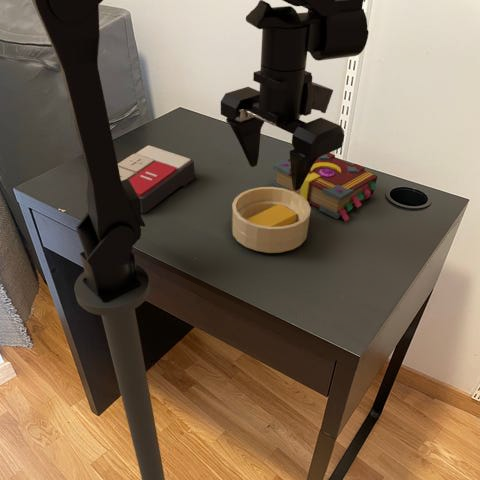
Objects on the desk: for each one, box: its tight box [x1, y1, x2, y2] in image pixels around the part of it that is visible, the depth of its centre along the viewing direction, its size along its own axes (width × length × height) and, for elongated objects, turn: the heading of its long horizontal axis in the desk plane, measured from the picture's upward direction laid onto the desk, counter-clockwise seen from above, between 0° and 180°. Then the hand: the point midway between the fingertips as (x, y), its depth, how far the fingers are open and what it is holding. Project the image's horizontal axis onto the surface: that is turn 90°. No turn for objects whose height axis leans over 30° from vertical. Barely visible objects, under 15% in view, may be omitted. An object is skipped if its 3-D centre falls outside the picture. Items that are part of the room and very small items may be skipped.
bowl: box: [231, 186, 312, 254], centre depth 77 cm, size 12×12×5 cm
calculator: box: [117, 144, 196, 214], centre depth 87 cm, size 11×4×15 cm
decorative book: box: [271, 152, 378, 222], centre depth 86 cm, size 11×16×5 cm
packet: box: [246, 204, 297, 227], centre depth 77 cm, size 8×4×2 cm, turn 131°
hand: (274, 177), depth 72 cm, fingers open, 9 cm apart
